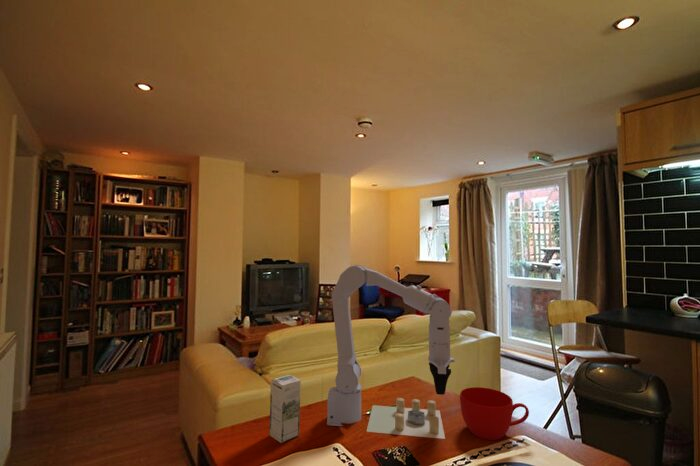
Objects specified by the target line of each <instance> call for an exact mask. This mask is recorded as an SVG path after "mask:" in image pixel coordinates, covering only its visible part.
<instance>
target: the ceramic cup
mask: <svg viewBox="0 0 700 466" xmlns="http://www.w3.org/2000/svg"><path fill="white" fill-rule="evenodd" d="M459 400H460V401H459V403H460V404H459V405H460V409H461V415H462V418H463V422H464V423H465V425H466V427H467V428H468V429H469V431H470V432H471V434H473V435H474V436H475V437H477V438H480V439H482V440H483V439H484V440H489V441H495V440H500V439H502V438H504V436H505V435H506V433H507V432H508V431H509V430H510V427H512V426H516V425H519V424H522V423H524V422H525V421H526V420H527V419H528V417H529V416H530V411H529V408H528V406H527V405H526V404H524V403H521V402H519V403H514V401H513V399H512V398H511V396H509V395H508V394H506V393H505V392H503V391H501V390H497V389H493V388H489V387H488V388H487V387H479V386H478V387H467V388H464V389H462V390H461V391H460V393H459ZM517 408H524V409H525V413H524V415H523V416H522V417H521V418H519V419H516V420H513V421H512V419H513V418H512V417H513V414H514V411H515V410H516V409H517Z"/></svg>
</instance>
